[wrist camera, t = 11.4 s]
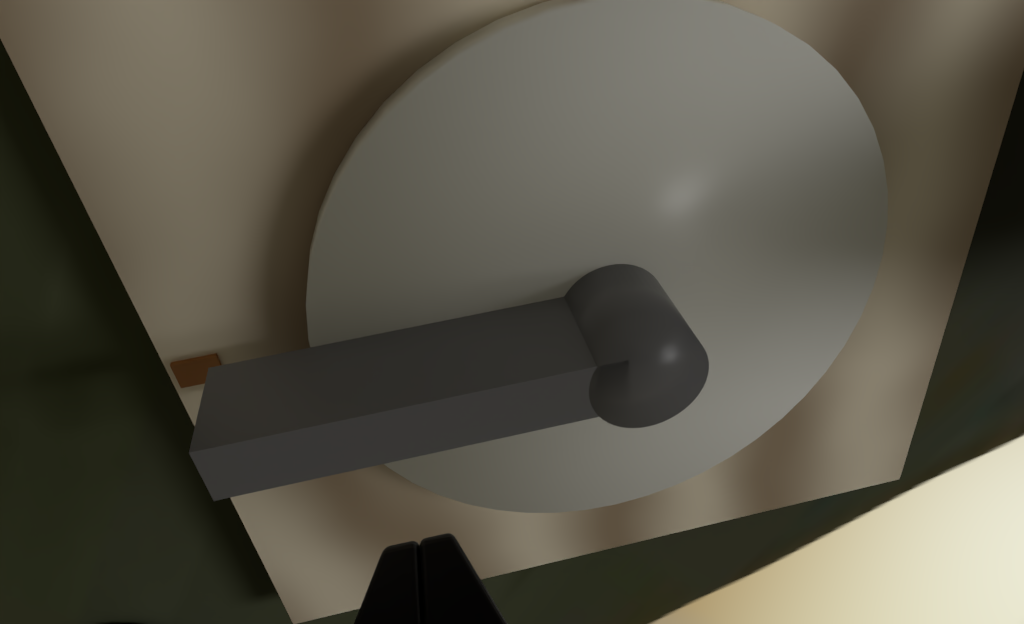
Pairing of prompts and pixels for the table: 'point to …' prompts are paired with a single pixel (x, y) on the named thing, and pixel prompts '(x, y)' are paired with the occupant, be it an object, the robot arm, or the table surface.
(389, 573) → the robot arm
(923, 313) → the dial base
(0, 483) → the table surface
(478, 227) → the dial
